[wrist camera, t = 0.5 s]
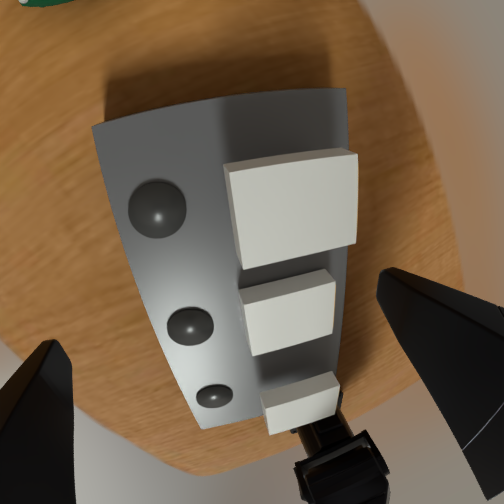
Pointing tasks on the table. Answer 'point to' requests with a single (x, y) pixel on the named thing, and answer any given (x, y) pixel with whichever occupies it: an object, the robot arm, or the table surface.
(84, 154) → the table surface
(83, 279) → the table surface
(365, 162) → the table surface
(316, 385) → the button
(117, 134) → the control panel
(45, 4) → the gaming controller
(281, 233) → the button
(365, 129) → the table surface
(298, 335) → the middle button
